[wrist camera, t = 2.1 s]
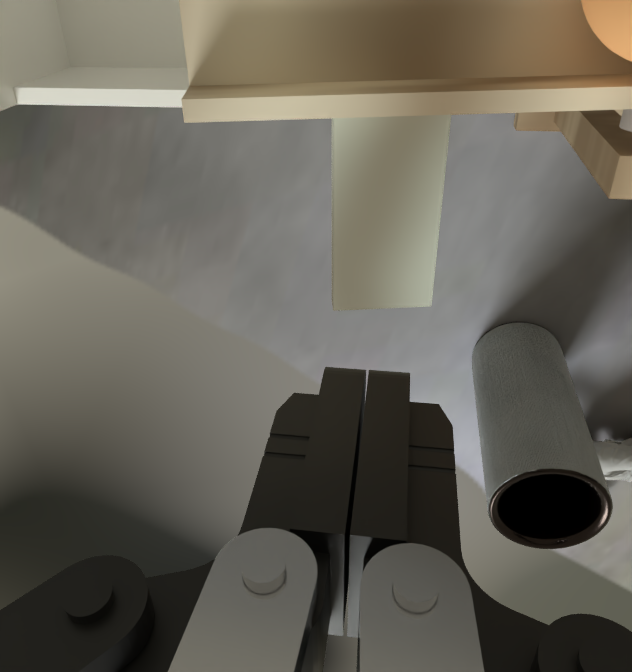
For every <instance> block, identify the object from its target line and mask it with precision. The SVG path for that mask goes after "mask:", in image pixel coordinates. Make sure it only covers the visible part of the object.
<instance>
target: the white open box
mask: <svg viewBox="0 0 632 672" xmlns="http://www.w3.org/2000/svg"><path fill="white" fill-rule="evenodd" d="M188 87H189V79H188V71H187V63H186V55H185V47H184V39H183V31H182V22H181V14H180V6H179V0H0V111H2V110H4V109H7V108H9V107H12V106H14V105H17V104H32V105H84V106H135V107H182V101H181V99H182V97H183V96H184V94H185V92H186V91H187V89H188Z"/></svg>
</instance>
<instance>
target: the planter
mask: <svg viewBox="0 0 632 672" xmlns="http://www.w3.org/2000/svg"><path fill="white" fill-rule="evenodd" d="M472 372H473V381H474V391H475V400H476V409H477V418H478V427H479V436H480V445H481V454H482V463H483V472H484V481H485V490H486V499H487V507H488V514H489V518H490V520H491V522H492V523H493V525H494V527H495V528H496V529H497V530H498V531H499V532H500V533H501V534H502V535H503V536H505V537H506V538H508V539H510V540H512V541H514V542H516V543H518V544H522V545H524V546H528V547H533V548H540V549H558V548H565V547H570V546H574V545H577V544H580V543H582V542H585V541H587V540H589V539H591V538H592V537H594V536H595V535H597V534H598V533H599V532H600V531H601V530H602V529H603V528H604V527H605V526H606V524H607V523H608V521H609V519H610V517H611V514H612V509H613V504H612V499H611V495H610V492H609V489H608V486H607V483H606V480H605V477H604V474H603V471H602V468H601V465H600V462H599V459H598V456H597V453H596V450H595V447H594V444H593V441H592V438H591V435H590V432H589V429H588V426H587V423H586V420H585V417H584V414H583V411H582V408H581V405H580V403H579V400H578V397H577V394H576V391H575V388H574V385H573V382H572V379H571V376H570V373H569V370H568V367H567V364H566V361H565V358H564V355H563V352H562V349H561V347H560V345H559V343H558V341H557V339H556V338H555V337H554V336H553V335H552V334H551V333H550V332H549V331H547V330H546V329H544V328H542V327H540V326H537V325H534V324H530V323H509V324H505V325H502V326H499V327H496V328H494V329H493V330H491V331H489V332H488V333H486V334H485V335H484V336H483V337H482V338H481V339H480V340H479V341H478V343H477V344H476V346H475V348H474V351H473V354H472Z"/></svg>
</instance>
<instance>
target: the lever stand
mask: <svg viewBox="0 0 632 672" xmlns="http://www.w3.org/2000/svg"><path fill="white" fill-rule="evenodd" d="M622 113H623V109H622V110H589V111H556V112H523V113H516V114H515V120H514V127H515V129H516V130H518V131H561V132H562V134H563V135H564V136H565V138H566V139H567V141H568V142H569V143H570V145H571V146H572V148H573V149H574V151H575V152H576V153H577V155H578V156H579V158H580V159H581V160H582V162H583V163H584V165H585V166H586V167H587V169H588V170H589V172H590V173H591V174H592V176H593V177H594V179H595V180H596V181H597V183H598V184H599V186H600V187H601V188H602V190H603V191H604V193H605V194H606V195H607V197H608V198H609V199H632V132H630V131H626V130H623V129H621V128H620V127H619V124H620V121H621V117H622Z"/></svg>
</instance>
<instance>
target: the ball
mask: <svg viewBox="0 0 632 672" xmlns="http://www.w3.org/2000/svg"><path fill="white" fill-rule="evenodd" d="M581 2H582V7H583V11H584V13H585V16H586V19H587V21H588V23H589V25H590V27H591V29H592V30H593V32H594V33H595V34H596V36H597V37H598V38H599V39H600V41H601V42H602V43H603V44H604V45H605V46H606V47H608V48H609V49H610V50H611V51H612V52H614V53H616V54H617V55H619V56H621V57H623V58H624V59H626V60H629V61H632V0H581Z"/></svg>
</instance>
